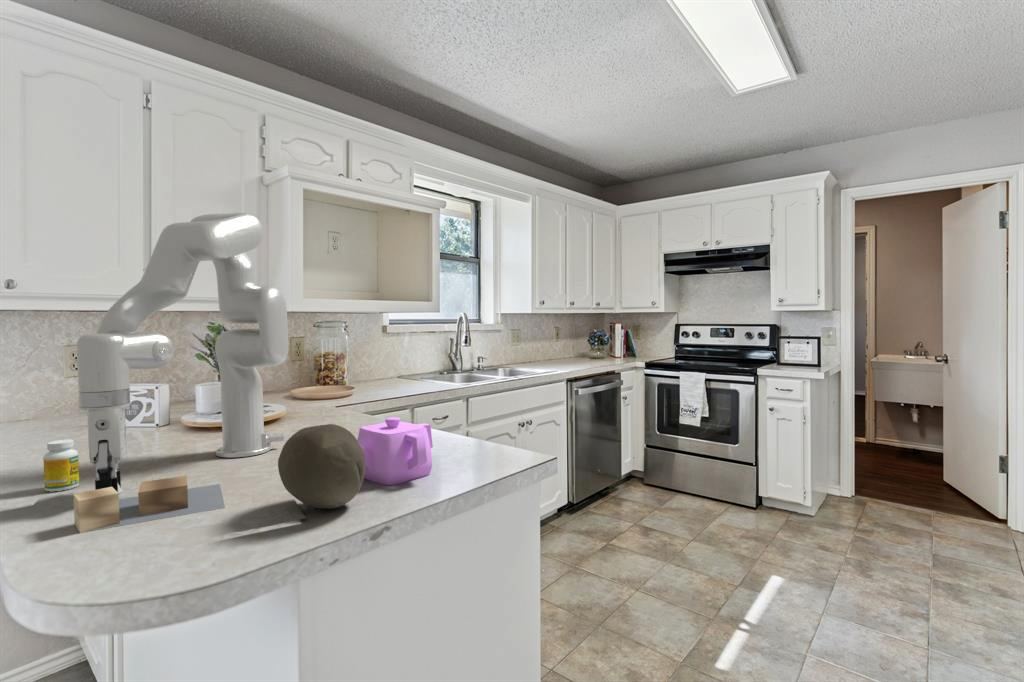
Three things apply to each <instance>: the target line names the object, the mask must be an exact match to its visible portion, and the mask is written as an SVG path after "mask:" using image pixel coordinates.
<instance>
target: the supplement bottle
mask: <svg viewBox="0 0 1024 682" xmlns="http://www.w3.org/2000/svg"><path fill="white" fill-rule="evenodd" d="M74 445H75V444H74V440H73V439H71V438H70V439H67V438H65V439H59V440H53V441H49V442H47V444H46V447H47V451H48V452H46V453H45V454H44V456H43V474H44V476H43V477H44V478H43V479H44V490H45V492H48V491H49V493H55V492H54V491H58V492H63V491H62V490H65V491H68V490H67V489H69V490H72V489H71V488H73V489H75V488H78V487H79V486H80V466H79V463H80V462H79V452H78V450H76V449H75V448H74ZM74 487H75V488H74Z"/></svg>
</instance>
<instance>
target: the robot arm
mask: <svg viewBox="0 0 1024 682" xmlns="http://www.w3.org/2000/svg"><path fill="white" fill-rule="evenodd" d="M263 228H264V227H263V225H262V223H261V221H260V220H259V219H258V218H257V217H256V216H254V215H253V214H251V213H250V212H249V213H248V212H234V213H233V212H232V213H229V212H228V213H210V214H209V213H208V214H201V215H197V216H195V217H194V218H192V219H191V220H190V221H186V222H175V223H171V224H168V225H166V226H165V227H164V228H163V229H162V231H161V233H160V235H159V236H158V239H157V241H156V244H155V246H154V249H153V250H152V253H151V256H150V259H149V261H148V264H147V266H146V268H145V270H144V273H143V275H142V277H141V279H140V280H139V282H138V283H137V284H135V285H134V286H133V287H132V288H131V287H130V289H129V290H128V291H126V293H124V294H123V295H122V296H121V297H120V298H119V299H118V300H116V302H115V303H113V304H112V306H110V308H109V309H108V310H107V311H106V313H105V315H104V317H102V321H101V322H100V325H99V327H98V330H97V332H96V333H88V334H83V335H81V336H79V337H78V339H77V341H76V354H77V355H76V358H77V383H78V405H79V407H78V408H79V409H78V410H79V411H84V412H85V411H86V412H87V440H88V443H87V444H88V453H89V462H90V464H92V465H95V480H94V486H95V487H94V488H95V489H94V490H97V489H103V488H108V487H113V488H114V489H115V490H116V491H117V492H118V484H119V485H120V488H121V489H122V485H121V484H122V483H121V481H122V480H121V470H120V462H123V461H124V460H125V459H126V456H127V454H128V441H127V440H128V439H127V422H126V413H125V412H126V411H125V408H128V407H129V406H131V389H130V385H131V384H130V370H155V369H160V368H161V367H164V366H166V365H167V364H169V362H171V360H172V359H173V357H174V355H175V346H174V343H173V341H172V340H171V338H169V337H168V336H166V335H165V334H162V333H160V332H156V331H155V332H154V331H138V329H139V328H140V326H141V325H142V324H143V323H144V322H145V321H146V320H147V319H148V318H150V317H151V316H152V315H154V314H156V313H157V312H159V311H161V310H163V309H165V308H167V307H170V306H172V305H175V304H176V303H178V302H180V301H181V300H183V299H185V298H186V296H187V295H188V293H189V290H190V287H191V285H192V282H193V279H194V277H195V274H196V271H197V268H198V266H199V264H200V263H201V262H205V261H206V262H207V261H208V262H209V261H210V262H211V261H212V263H213V265H214V268H215V275H216V281H217V282H216V283H217V298H218V309H219V314H220V316H221V318H222V319H223V320H224V321H226V322H227V323H230V324H242V325H243V324H244V325H245V324H249V325H250V324H252V325H253V324H257V325H258V328H234V329H228V330H225V331H223V332H222V333H220V334H219V336H217V338H216V340H215V344H214V352H215V358H216V360H217V364H218V365H217V366H218V369H219V376H220V377H219V378H220V398H221V399H220V401H221V429H222V430H221V432H222V437H221V438H222V446H221V447H218V448H217V449H216V450H215V455H216V456H217V457H220V458H229V459H230V458H232V459H233V458H234V459H235V458H244V457H251V456H257V455H261V454H264V453H267V452H269V451H270V450H271V449H272V443H273V442H283V441H285V435H284V433H272V434H270V433H267V432H266V431H265V427H264V425H265V424H264V421H265V420H264V394H263V392H264V391H263V390H264V387H263V386H264V385H263V380H262V376H261V375H260V373H259V371H258V369H257V367H277V366H279V365H282V364H283V363H284V362H285V361H286V359H287V358H288V355H289V347H290V346H289V325H288V309H287V303H286V300H285V297H284V295H283V293H282V292H281V291H280V290H279V289H278V288H277V287H275V286H272V285H257V284H256V278H255V269H254V268H255V267H254V265H253V262H252V259H251V258H250V257H249V256H248V254H247V252H249V251H251V250H252V251H253V250H254V249H256V248H257V247H259V245H260V244H261V242H262V241H263V238H264V229H263ZM110 458H111V459H112V461H110V462H108V459H110ZM115 460H117V461H118V462H119V463H118V464H117V465H116V470H117V472H116V477H115V463H116V462H115ZM108 465H111V467H110V466H108Z"/></svg>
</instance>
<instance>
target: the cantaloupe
mask: <svg viewBox="0 0 1024 682" xmlns="http://www.w3.org/2000/svg"><path fill="white" fill-rule="evenodd" d="M357 440H358V438H356V436H355V435H354V434H353V433H352V432H351V431H349V430H348V429H347V428H345V427H343V426H341V425H338V424H334V423H328V424H320V425H313V426H308V427H303V428H301V429H299V430H298V431H296V432H295V433H294V434H293V435H291V436H290V437H289V438H288V439H287V440H286V442H285V443H284V445H283V447H282V449H281V451H280V454H279V455H278V456H279V457H278V459H277V469H278V474H279V477H280V481H281V482H282V485H283V487H284V488H285V490H286V491H287V492H288V493H289V494H290V495H291V496H293V497H294V498H295V499H296V500H298V501H299V502H301V503H303V504H305V505H307V506H308V507H311V508H316V509H321V510H322V509H324V510H333V509H337V508H340V507H342V506H345V505H346V504H348V503H349V502H351V501H352V500H353V499H354V498H355V497H356V496H357V494H358V493H359V492H360V490H361V487H362V485H363V482H364V479H365V478H364V473H365V456H364V453H363V451H362V449H361V447H360V445H359V443H358V441H357Z"/></svg>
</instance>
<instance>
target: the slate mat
mask: <svg viewBox="0 0 1024 682" xmlns="http://www.w3.org/2000/svg"><path fill="white" fill-rule="evenodd" d="M225 508H226V506H225V501H224V497H223V492H222V488H221V484H220V483H217V484H210V485H204V486H197V487H191V488H188V508H184V509H178V510H172V511H166V512H160V513H155V514H149V515H143V516H139V499H138V495H137V496H133V497H126V498H119V518H120V524H116V525H112V526H107V527H103V528H99V529H95V530H90V531H86V532H82V533H80V532H79V531H78V534H83V533H88V532H95V531H100V530H101V531H102V530H106V529H112V528H117V527H125V526H128V525H133V524H134V525H135V524H140V523H145V522H151V521H157V520H163V519H169V518H174V517H182V516H186V515H192V514H196V513H197V514H198V513H203V512H208V511H214V510H219V509H220V510H221V509H225Z"/></svg>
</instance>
